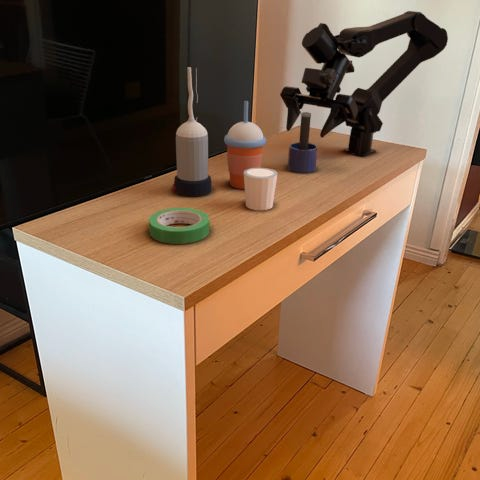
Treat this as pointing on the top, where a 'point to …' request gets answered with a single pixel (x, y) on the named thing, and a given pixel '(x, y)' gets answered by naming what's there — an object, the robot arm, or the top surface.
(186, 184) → the humidifier
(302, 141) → the gray cylinder
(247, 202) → the white tapered cup
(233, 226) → the top surface
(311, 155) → the blue cup
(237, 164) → the cup with straw
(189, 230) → the tape roll
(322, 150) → the top surface
